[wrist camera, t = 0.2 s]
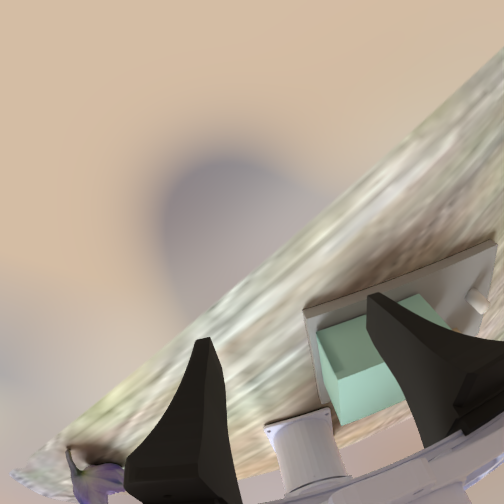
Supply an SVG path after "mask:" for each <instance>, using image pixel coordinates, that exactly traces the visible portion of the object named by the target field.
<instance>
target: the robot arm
mask: <svg viewBox="0 0 504 504" xmlns="http://www.w3.org/2000/svg"><path fill="white" fill-rule="evenodd" d="M366 330H367V332H368V334H369V336H370V338H371V340H372V342H373V344H374V346H375V348H376V350H377V351H378V353H379V354H380V356H381V357H382V359H383V360H384V362H385V363H386V365H387V366H388V368H389V370H390V371H391V373H392V374H393V376H394V377H395V379H396V381H397V382H398V384H399V386H400V388H401V390H402V392H403V394H404V396H405V398H406V401H407V403H408V405H409V408H410V410H411V412H412V415H413V417H414V420H415V422H416V425H417V428H418V431H419V433H420V437H421V440H422V442H423V446H424V449H423V450H421V451H419V452H417V453H415V454H413V455H411V456H408V457H407V458H404V459H402V460H400V461H397V462H395V463H393V464H390V465H388V466H386V467H383V468H381V469H378V470H376V471H373V472H370V473H368V474H365V475H362V476H360V477H357V478H354V479H353V478H352V476H351V475H349V476H348V474H347V471H346V469H345V466H344V463H343V461H342V458H341V455H340V452H339V450H338V447H337V444H336V442H335V439H334V436H333V427H332V419H331V411H330V408H328V407H326V408H323V409H320V410H317V411H314V412H311V413H308V414H305V415H301V416H298V417H295V418H291V419H288V420H284V421H281V422H277V423H274V424H270V425H266V426H264V431H265V433H266V435H267V437H268V439H269V441H270V443H271V445H272V447H273V449H274V451H275V453H276V455H277V460H278V464H279V468H280V472H281V475H282V480H283V484H284V488H285V492H286V494H285V495H284V496H285V498H284V499H280V500H275V501H270V502H265V503H260V504H471V501H470V500H469V498H468V496H467V494H466V492H465V490H466V489H468V488H469V487H471V486H472V485H474V484H475V483H477V482H478V481H479V480H481V479H482V478H484V477H485V476H487V475H488V474H489V473H491V472H492V471H493V470H495V469H496V468H497V467H498V466H500V465H501V464H502V463H504V341H496V340H488V339H482V338H477V337H473V336H469V335H465V334H462V333H459V332H455V331H453V330H450V329H447V328H445V327H442V326H440V325H437V324H435V323H433V322H431V321H429V320H427V319H425V318H423V317H421V316H419V315H417V314H415V313H414V312H412V311H410V310H408V309H407V308H405V307H403V306H401V305H400V304H398V303H397V302H395V301H393V300H392V299H390V298H388V297H387V296H385V295H383V294H382V293H380V292H376V293H373V294H370V295H367V313H366ZM123 487H124V489H125V490H126V491H127V492H128V493H129V494H130V495H132V496H133V497H135V498H136V499H138V500H139V501H141V502H142V503H143V504H243V503H242V499H241V495H240V491H239V487H238V482H237V478H236V473H235V469H234V464H233V459H232V454H231V448H230V443H229V437H228V428H227V410H226V391H225V383H224V377H223V371H222V367H221V364H220V361H219V359H218V356H217V354H216V351H215V349H214V346H213V343H212V341H211V338H210V337H207V338H203V339H198V340H196V341H195V344H194V347H193V351H192V354H191V357H190V360H189V363H188V366H187V368H186V371H185V374H184V376H183V379H182V381H181V383H180V385H179V387H178V390H177V392H176V394H175V396H174V398H173V400H172V401H171V403H170V405H169V407H168V408H167V410H166V412H165V413H164V415H163V416H162V418H161V419H160V421H159V422H158V424H157V425H156V426H155V428H154V429H153V430H152V431H151V433H150V434H149V435H148V436H147V437H146V439H145V440H144V441H143V442H142V443H141V444H140V445H139V446H138V447H137V448H136V449H135V450H134V451H133V452H132V453H131V454H130V455H129V456H128V457H127V459H126V464H125V469H124V481H123Z"/></svg>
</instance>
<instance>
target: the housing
mask: <svg viewBox="0 0 504 504" xmlns="http://www.w3.org/2000/svg"><path fill="white" fill-rule="evenodd" d="M397 303H398V304H400V305H401V306H403V307H405V308H407V309H408V310H410V311H412V312H414V313H415V314H417V315H419V316H421V317H423V318H425V319H427V320H429V321H431V322H433V323H435V324H437V325H440V326H442V327H445V328H447V329H450V330H452V329H451V328H450V327H449V326H448V325H447V324H446V323H445V321H444V320H443V319H442V318H441V317H440V316H439V315H438V314H437V313H436V311H435V310H434V309H433V308H432V307H431V306H430V305H429V304H428V303H427V302H426V301H425V299H424V298H423V297H422V296H421V295H420V294H416V295H414V296H412V297H409V298H407V299H404V300H402V301H399V302H397ZM316 337H317V343H318V349H319V356H320V362H321V368H322V375H323V381H324V384H325V387H326V389H327V392H328V394H329V397H330V399H331V402H332V404H333V406H334V409H335V411H336V414H337V416H338V419H339V421H340V424H341V426H343V425H346V424H348V423H351V422H354V421H356V420H359V419H361V418H364V417H366V416H369V415H371V414H374V413H376V412H379V411H381V410H383V409H386V408H388V407H390V406H393V405H395V404H397V403H399V402H402V401H404V400H406V398H405V396H404V394H403V392H402V390H401V388H400V386H399V384H398V382H397V381H396V379H395V377H394V376H393V374H392V373H391V371H390V370H389V368H388V366H387V365H386V363H385V362H384V360H383V359H382V357H381V356H380V354H379V353H378V351H377V350H376V348H375V346H374V344H373V342H372V340H371V338H370V336H369V334H368V332H367V330H366V315H363V316H360V317H357V318H355V319H352V320H349V321H346V322H343V323H341V324H338V325H335V326H332V327H329V328H326V329H323V330H320V331H317V332H316Z"/></svg>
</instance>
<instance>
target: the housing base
mask: <svg viewBox="0 0 504 504" xmlns="http://www.w3.org/2000/svg"><path fill="white" fill-rule="evenodd" d="M497 246H498V244H497V243H495V242H494V241H492V240H491V239H490V240H488V241H485V242H483V243H481V244H479V245H476V246H474V247H472V248H469V249H467V250H465V251H462V252H460V253H458V254H455V255H453V256H450V257H448V258H446V259H443V260H441V261H438V262H436V263H433V264H431V265H428V266H426V267H423V268H421V269H418V270H416V271H413V272H410V273H408V274H405V275H403V276H400V277H397V278H395V279H392V280H389V281H387V282H384V283H381V284H378V285H376V286H373V287H370V288H367V289H364V290H362V291H359V292H356V293H353V294H350V295H347V296H344V297H341V298H339V299H336V300H333V301H330V302H327V303H324V304H321V305H318V306H314V307H311V308H308V309H305V310H302V311H303V316H304V321H305V326H306V331H307V336H308V341H309V347H310V352H311V357H312V362H313V368H314V373H315V379H316V384H317V390H318V395H319V399H320V401H321V404H325V403H328V402H331V399H330V397H329V394H328V392H327V389H326V387H325V384H324V381H323V375H322V368H321V362H320V356H319V349H318V343H317V337H316V332H317V331H320V330H323V329H326V328H329V327H332V326H335V325H338V324H341V323H343V322H346V321H349V320H352V319H355V318H357V317H360V316H363V315H366V313H367V295H370V294H373V293H376V292H380V293H382V294H383V295H385V296H387V297H388V298H390V299H392V300H393V301H395V302H399V301H402V300H404V299H407V298H409V297H412V296H414V295H416V294H420V295H421V296H422V297H423V298H424V299H425V301H426V302H427V303H428V304H429V305H430V306H431V307H432V308H433V309H434V310H435V311H436V313H437V314H438V315H439V316H440V317H441V318H442V319H443V320H444V321H445V323H446V324H447V325H448V326H449V327H450V328H451V329H454V328H457V329H458V330H459V331H460V332H461V333H462V334H465V335H469V336H473V337H474V336H476V335H478V332H479V329H480V325H481V322H482V318H483V314H484V313H485V312H486V311H487V310H488V308H489V306H490V302H489V301H488V300H487V298H488V294H489V289H490V285H491V280H492V275H493V270H494V264H495V258H496V252H497Z"/></svg>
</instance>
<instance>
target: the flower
mask: <svg viewBox="0 0 504 504" xmlns="http://www.w3.org/2000/svg"><path fill="white" fill-rule="evenodd" d="M65 453H66V458H67V461H68V464H69V467H70V470H71V479H72V483H73V493H74V495H75V497H76V499H77V500H78V502H79V503H80V504H108V495H112V494H115V492H117V493H119V492H124V491H125V489H124V487H123V481H124V469H122V468H121V466H120V465H117V464H113V463H106V464H102V465H97V466H95V465H89V466H88V467H86V468H85V469H84V470H83V471H80V470H79V469H78V468H77V467H76V465H75V464H74V462H73V460H72V457H71V452H70V450H69V449H68V450H67V451H66V452H65Z"/></svg>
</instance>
